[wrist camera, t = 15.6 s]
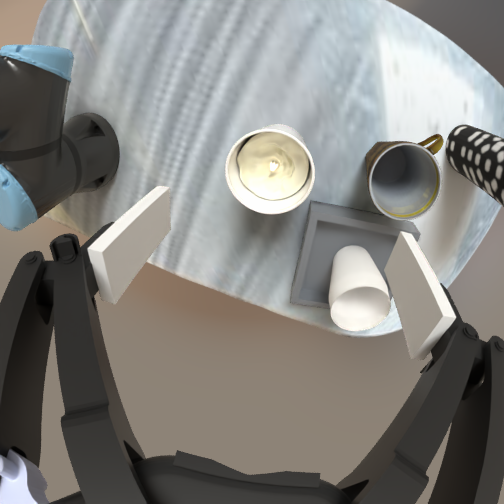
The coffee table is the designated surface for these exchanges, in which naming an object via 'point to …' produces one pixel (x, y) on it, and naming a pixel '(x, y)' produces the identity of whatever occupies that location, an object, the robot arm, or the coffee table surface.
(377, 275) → the cup
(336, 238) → the tray
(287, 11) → the coffee table surface
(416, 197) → the ceramic cup
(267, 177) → the candle holder
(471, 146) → the spotted tube
